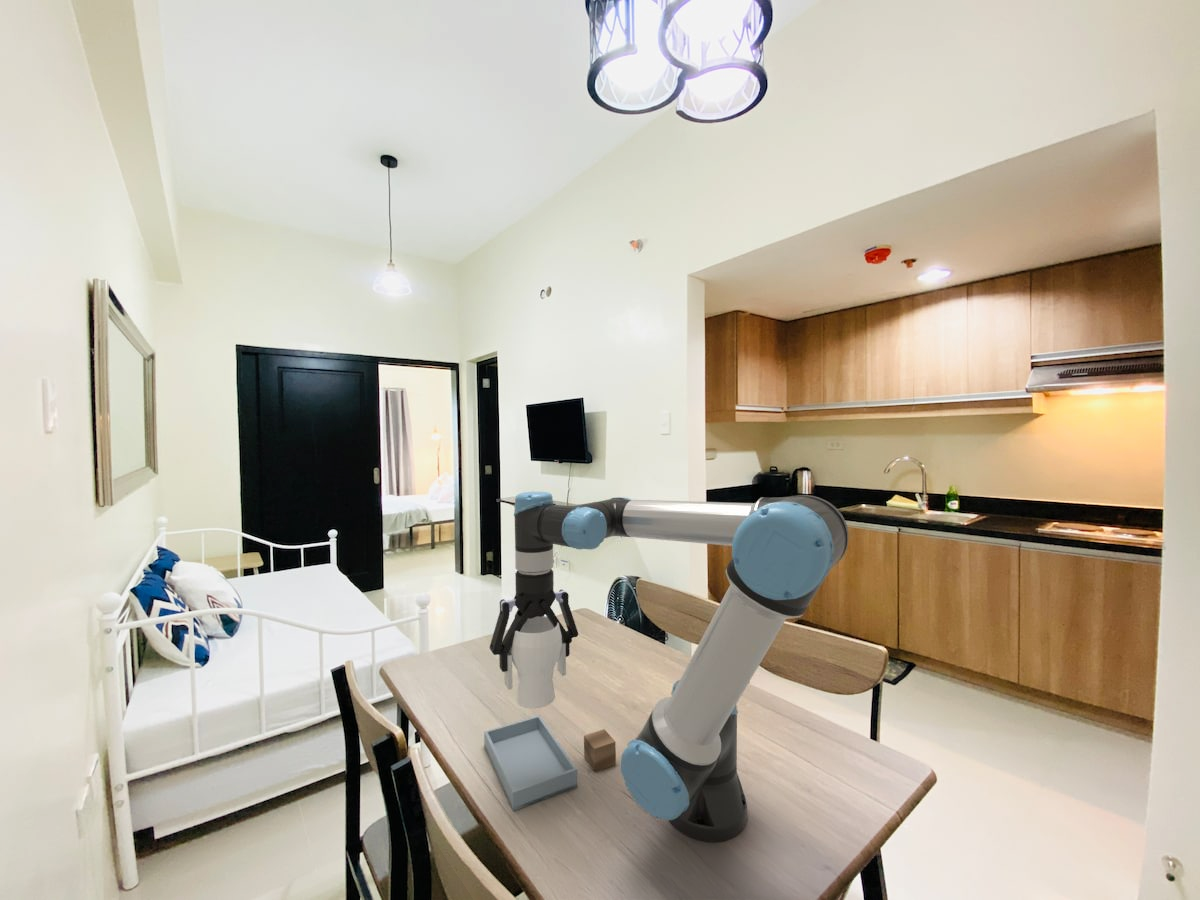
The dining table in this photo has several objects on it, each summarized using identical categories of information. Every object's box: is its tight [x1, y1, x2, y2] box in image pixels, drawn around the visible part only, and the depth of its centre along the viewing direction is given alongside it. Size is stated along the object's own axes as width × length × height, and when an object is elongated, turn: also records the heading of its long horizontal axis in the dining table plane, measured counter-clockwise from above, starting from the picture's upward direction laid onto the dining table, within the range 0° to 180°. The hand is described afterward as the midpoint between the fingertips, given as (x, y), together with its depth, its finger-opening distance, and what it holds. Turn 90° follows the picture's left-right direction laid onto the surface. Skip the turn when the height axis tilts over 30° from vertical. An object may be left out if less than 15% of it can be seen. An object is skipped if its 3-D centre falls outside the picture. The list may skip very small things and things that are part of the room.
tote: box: [483, 714, 579, 812], centre depth 101 cm, size 21×13×4 cm, turn 28°
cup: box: [509, 615, 562, 709], centre depth 96 cm, size 11×11×15 cm
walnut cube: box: [583, 728, 617, 773], centre depth 103 cm, size 5×5×5 cm
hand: (535, 679), depth 96 cm, fingers closed on cup, 10 cm apart
